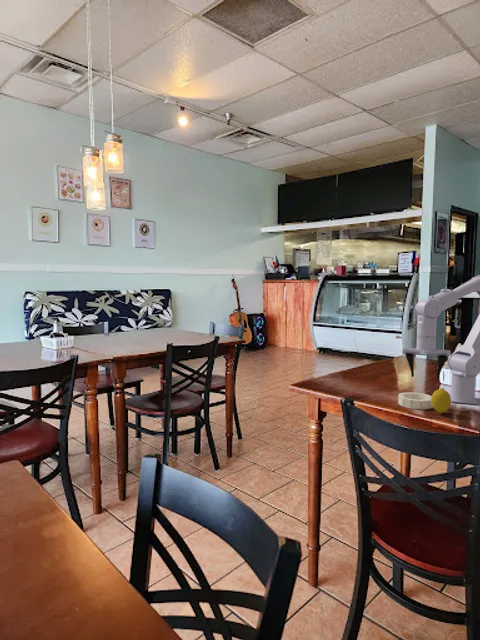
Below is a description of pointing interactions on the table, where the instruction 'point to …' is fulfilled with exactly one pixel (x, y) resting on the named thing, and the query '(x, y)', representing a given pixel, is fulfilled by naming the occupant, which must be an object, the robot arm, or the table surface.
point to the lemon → (441, 400)
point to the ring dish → (415, 400)
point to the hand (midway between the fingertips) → (425, 377)
